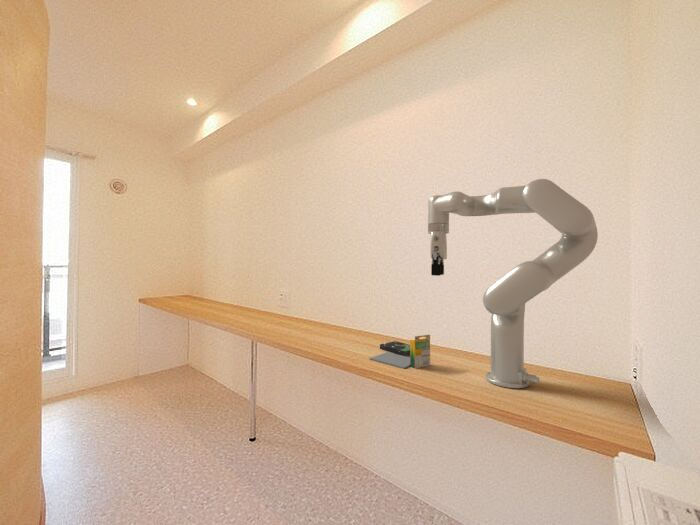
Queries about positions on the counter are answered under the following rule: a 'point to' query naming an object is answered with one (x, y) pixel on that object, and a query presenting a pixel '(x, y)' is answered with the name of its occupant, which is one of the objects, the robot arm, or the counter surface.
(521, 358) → the robot arm
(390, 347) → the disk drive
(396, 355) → the slate pad
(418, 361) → the crayon box
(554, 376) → the counter surface
